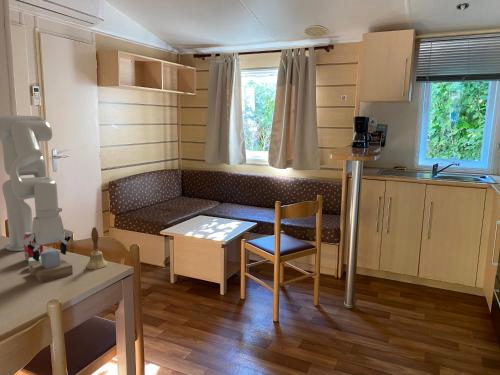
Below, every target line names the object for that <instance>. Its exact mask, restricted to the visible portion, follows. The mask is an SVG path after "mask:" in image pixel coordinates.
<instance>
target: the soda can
mask: <svg viewBox="0 0 500 375" xmlns="http://www.w3.org/2000/svg"><path fill="white" fill-rule="evenodd" d="M31 235H32V231H27V232H25V235H24V238H23V239H24V240H25V239H26V238H28V237H29V236H31ZM29 243H30V245H33V244H34V242H33V240H31V241H30V242H29ZM44 245H45V244H44ZM44 245H40V246H39V248H38V249H37V250H38V251H39V257H40V256H41V252H45V246H44ZM23 251H24V257H25V261H27V262H28V261H29V258H32V257H33V255H32V250H31V249H30V248H28V247H27V246H26V245H25V244H24V250H23Z"/></svg>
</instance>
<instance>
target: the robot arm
mask: <svg viewBox="0 0 500 375" xmlns="http://www.w3.org/2000/svg"><path fill="white" fill-rule="evenodd" d="M52 137H53V129H52V127H51V125H50V123H49V122H48V121H47V120H46V119H44V118H43V117H41V116H38V115H17V114H15V115H0V142H1V144H2V155H3V164H4V165H3V166H4V171H5V173H6V174H7V175H8V176H9V179H8V180H5V181H4V182H3V183H2V185H1V186H2V187H1V188H2V189H1V190H2V193H3V197H4V202H5V206H6V207H5V208H6V217H7V218H6V219H7V226H8V228H7V229H8V237H9V243H8V244H7V245H6V246H5V249H6V251H9V252H22V251H24V244H25V245H26V246H27V247H28V248H30V249H31V250H32V255H33V259H34V260H36V261H39V251H38V250H37V249H38V248H39V246H40V245H47V244H48V245H49V244H53V243H57V242H60V243H59V246H60V253H61V254H62V255H67V251H68V249H67V248H68V247H67V246H68V242H69V241H70V240H71V238H72V235H73V234H74V231H72V230H69V229H66V228H64V224H63V219H62V216H61V215H60V213H61V212H63V209H62V207H59V202H58V201H59V199H58V188H57V187H58V184H57V182H56V181H55V180H54V179H53V178H52V177H50V176H47V165H46V161H45V160H46V159H45V158H44V156H43V151H42V148H41V144H40V142H49V141H51V139H52ZM20 176H22V177H20ZM23 176H33V177H23ZM29 199H30V200H31V199H34V208H35V209H34V211H35V217H33V213H32V207H31V206H30V205H29V203H27V202H26V201H25V200H29ZM27 231H32V235H31V236H29V237H28V238H26V239H25V240H24V239H23V238H24V235H25V232H27ZM65 234H66V235H65ZM31 240H33V242H34V244H33V245H30V243H29V242H30V241H31Z"/></svg>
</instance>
